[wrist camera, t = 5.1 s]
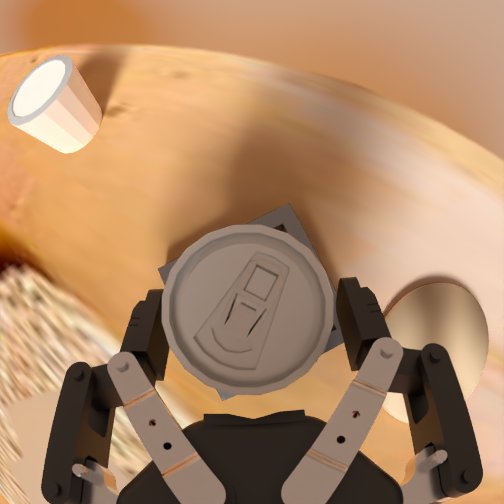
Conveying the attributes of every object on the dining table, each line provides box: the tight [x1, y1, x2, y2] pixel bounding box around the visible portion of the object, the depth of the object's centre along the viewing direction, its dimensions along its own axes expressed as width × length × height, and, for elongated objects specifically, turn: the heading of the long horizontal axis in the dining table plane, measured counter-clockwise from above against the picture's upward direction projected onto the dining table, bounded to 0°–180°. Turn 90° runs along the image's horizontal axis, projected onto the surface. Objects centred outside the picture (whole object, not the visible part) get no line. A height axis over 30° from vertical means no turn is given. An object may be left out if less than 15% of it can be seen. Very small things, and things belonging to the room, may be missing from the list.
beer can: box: [162, 225, 333, 395], centre depth 14 cm, size 5×5×12 cm
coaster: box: [382, 283, 489, 423], centre depth 19 cm, size 11×11×1 cm
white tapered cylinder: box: [7, 55, 102, 154], centre depth 20 cm, size 7×7×7 cm
